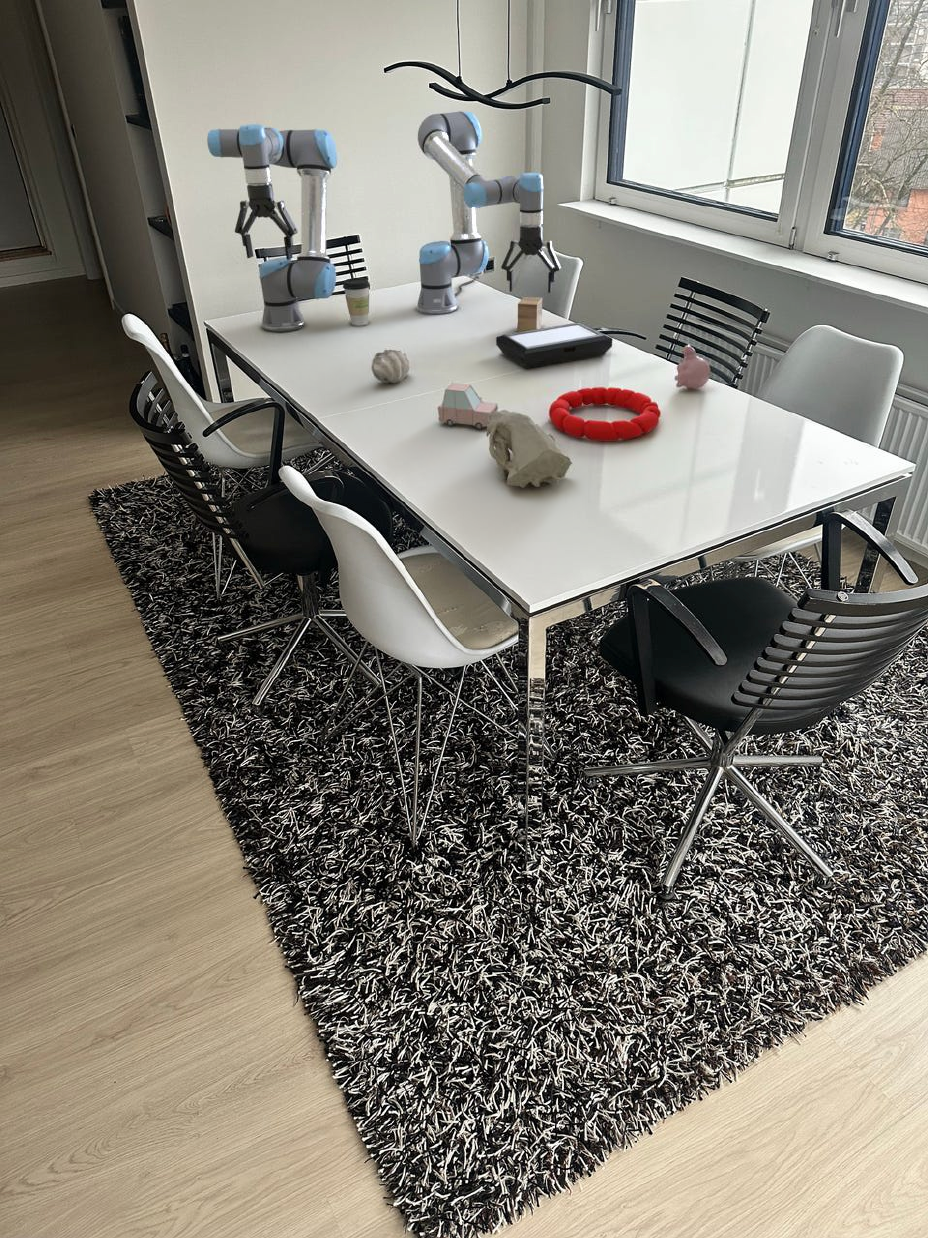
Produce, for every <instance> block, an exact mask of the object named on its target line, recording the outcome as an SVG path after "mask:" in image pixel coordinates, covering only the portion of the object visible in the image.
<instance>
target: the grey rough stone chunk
mask: <svg viewBox="0 0 928 1238" xmlns="http://www.w3.org/2000/svg"><path fill="white" fill-rule="evenodd" d="M485 436H486V438H487V437H489V438H488V440H489V444H488V445H489V446H488V450H489V454H490V456H491V457H492V458H493V459H494V460H495V462H496V464H497V466H499V468H500V470H501V471H502V472H501V478H502V479H507V480H506V484H507V486H517V487H518V486H519V488H523V489H524V488H526V486H527V485H529V483H531V485H533V486H534V487H536V488H540V485H541V484H542V482H544V483H549V484H550V485H553V484H555V483H556V482H557V480H561V479H563V478H565V476H566V474H567V472H568V471H569V469H570V467H571V466H572V464H573V462H572V461H571V458H570V457H568V456H567V455H565V453H564V451H562V449H561V448H560V446H559V444H557V443H556V439H555V438H554V436H553V435H551V434H550V433H548V432H547V431H546V430H545V429H544V428H542V427H541V426H539V425H538V424H537V423H536V424H535V422H534V421H533V419H532V418H531V417H530V416H529V415H527V414H524V413H519V412H515V411H509V410H507V409H502V410H500V411H499V410H497V411H496V412H492V413H491V414H490V422H488V423H487V427H486V435H485ZM511 453H512V454H511ZM511 455H512V457H513V458H512V460H511ZM507 474H508V475H507Z"/></svg>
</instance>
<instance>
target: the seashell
mask: <svg viewBox="0 0 928 1238" xmlns="http://www.w3.org/2000/svg"><path fill="white" fill-rule="evenodd" d="M410 368H411V362H410V358H409V357H408V354H407V353H403V351H401V350H396V349H384V350H383V352H376V353H375V354H374V356H373V358H372V363H371V371H372V374H373V377H375V378H376V379H377V380H378V381H379V382H380V383H384V384H388V383H389V382H390V383H393V384H396V383H400V382H402V381H403V380H404V378H406V376H407V375H408V373H409V372H410Z"/></svg>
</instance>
